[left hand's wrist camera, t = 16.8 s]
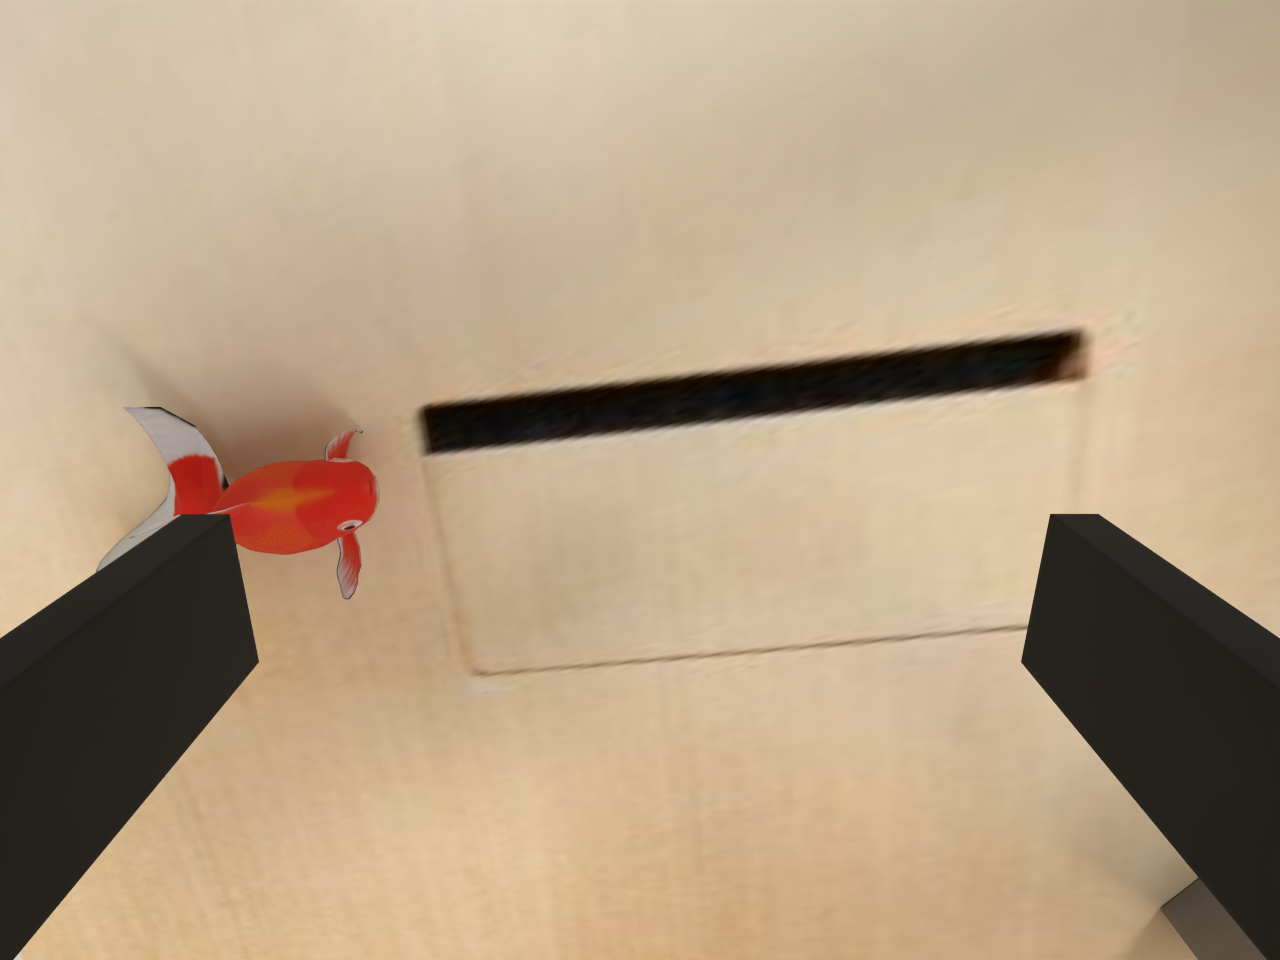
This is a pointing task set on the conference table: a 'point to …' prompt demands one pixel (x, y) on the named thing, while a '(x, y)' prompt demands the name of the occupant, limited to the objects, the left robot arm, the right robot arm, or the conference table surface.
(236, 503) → the fish
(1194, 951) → the box
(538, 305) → the conference table surface
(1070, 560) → the left robot arm
